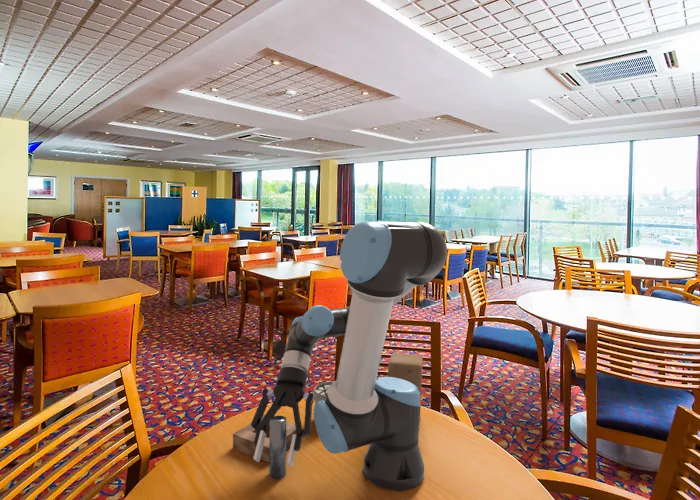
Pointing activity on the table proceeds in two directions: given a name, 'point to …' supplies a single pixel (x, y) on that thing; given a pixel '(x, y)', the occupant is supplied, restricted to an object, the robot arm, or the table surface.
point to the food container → (321, 391)
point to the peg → (277, 447)
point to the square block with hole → (246, 438)
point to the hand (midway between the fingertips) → (272, 462)
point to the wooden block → (406, 369)
